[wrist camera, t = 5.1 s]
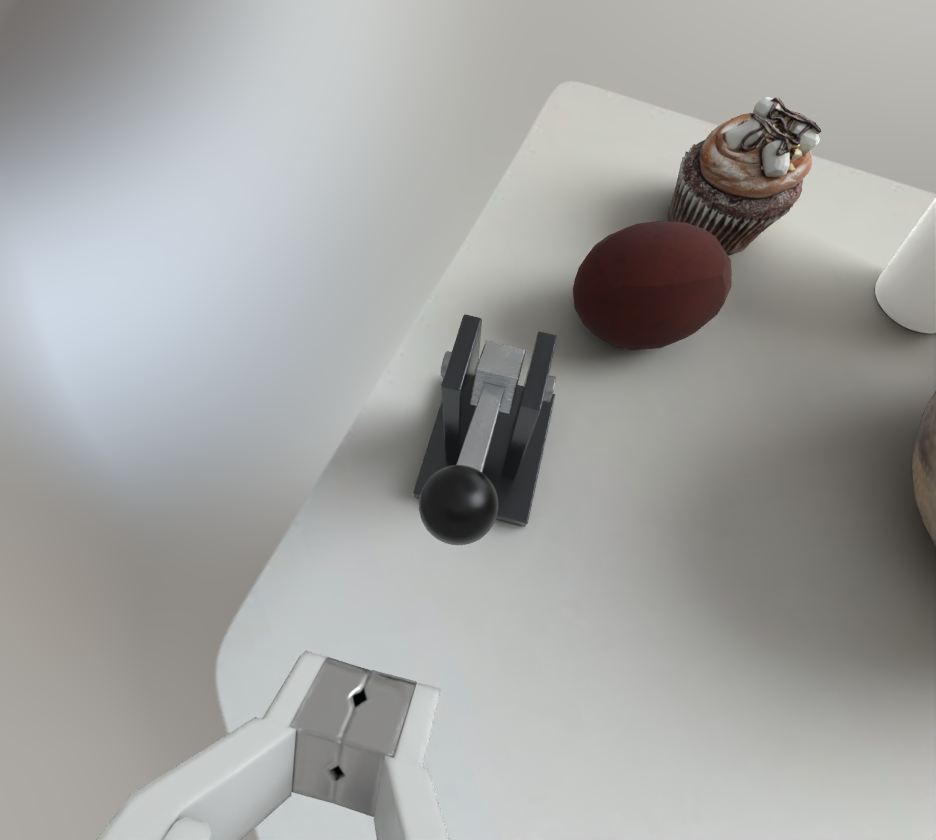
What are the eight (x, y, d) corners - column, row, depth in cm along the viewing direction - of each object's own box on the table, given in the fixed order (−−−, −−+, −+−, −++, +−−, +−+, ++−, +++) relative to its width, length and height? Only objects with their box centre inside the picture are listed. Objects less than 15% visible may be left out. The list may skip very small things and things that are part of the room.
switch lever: (483, 570, 20) (496, 522, 18) (406, 548, 21) (411, 499, 18) (524, 391, 29) (536, 344, 27) (470, 378, 29) (478, 331, 27)
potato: (550, 288, 43) (573, 202, 35) (685, 272, 44) (739, 184, 36) (575, 378, 40) (607, 307, 31) (720, 358, 41) (790, 284, 32)
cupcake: (691, 167, 49) (745, 59, 40) (783, 217, 47) (863, 114, 38) (638, 225, 46) (684, 122, 37) (734, 281, 44) (808, 187, 35)
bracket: (525, 527, 35) (560, 471, 23) (414, 497, 36) (394, 429, 24) (552, 400, 39) (594, 298, 27) (452, 376, 40) (450, 266, 28)
